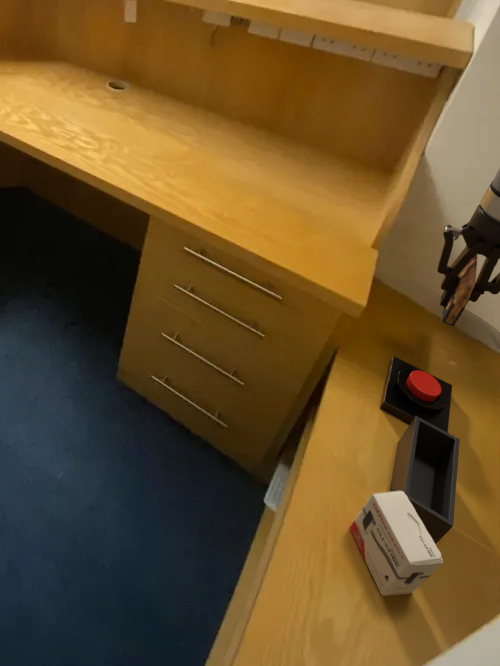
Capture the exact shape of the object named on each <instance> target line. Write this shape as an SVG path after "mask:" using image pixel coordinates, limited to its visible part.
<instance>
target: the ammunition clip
mask: <svg viewBox="0 0 500 666" xmlns="http://www.w3.org/2000/svg"><path fill="white" fill-rule="evenodd" d="M477 266H478V254H476V256H475V257H474V258H472V259H471V260H470V262H469V263H468V264H467V265H466V267H465V268H464V269H463V270H462V271H461V273H460V274H459V280H458V285H457V287H456V288H455V290H454V292H453V293H452V295H451V297H450V298H449V300H448V302H447V303H446V305H445V307H443V310H442V318H441V322H442V323H443V324H447V325H449V326H451V327H455V325H456V324H457V322H458V320H459V319H460V317H461V315H462V314H463V312H464V310H465V309H466V306H465V304H466V303H467V301H468V299H469V298H470V295H471V292H472V290H473V288H474V286H475V283H476V282H477V269H478V267H477ZM468 302H469V301H468ZM467 304H468V303H467ZM467 304H466V305H467Z"/></svg>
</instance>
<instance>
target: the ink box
mask: <svg viewBox="0 0 500 666" xmlns="http://www.w3.org/2000/svg"><path fill="white" fill-rule="evenodd" d="M349 530H350V532H351V534H352V536H353V539H354V541H355V543H356V544H357V546H358V549H359V551H360V553H361V555H362V557H363V559H364V561H365V564H366V566H367V567H368V569H369V572H370V574H371V576H372V578H373V580H374V582H375V584H376V586H377V588H378V591H379V592H380V595H382V596H383V597H385V596H386V597H387V596H396V595H397V596H399V595H410V593H411V594H413V593H414V592H415V591H416V590H417V589H418V588H419V587H420V586H421V585H422V584H423V583H425V581H426V580H428V579H429V578H430V577H431V576H432V575H433V573H434V572H436V570H438V568H440V566H441V565H443V564H444V559H443V557H442V553H441V551H440V549H439V548H438V547H437V544H436V545H435V543H434V541H433V539H432V538H431V536H430V534H429V533H428V531H427V530H426V528H425V526H424V524H423V522H422V521H421V519H420V518H419V516H418V514H417V513H416V510H415V509H414V507H413V505H412V504H411V502H410V501H409V499H408V497H407V495H406V494H405V493H404V492H403V491H392V492H389V491H384V492H383V491H382V492H375V493H372V494H371V495H370V497H369V498H368V499H367V501H366V503H365V504H364V506H362V508H361V509H360V511H359V512H358V514H357V516H356V517H355V518H354V520H353V522H351V524H350V525H349Z"/></svg>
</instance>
